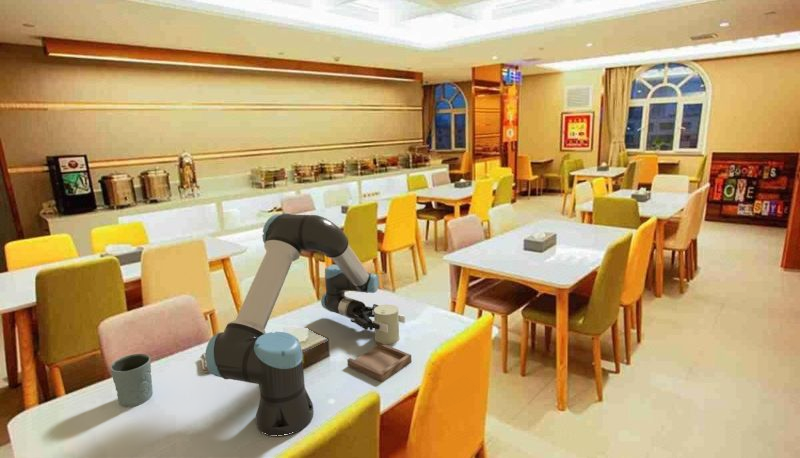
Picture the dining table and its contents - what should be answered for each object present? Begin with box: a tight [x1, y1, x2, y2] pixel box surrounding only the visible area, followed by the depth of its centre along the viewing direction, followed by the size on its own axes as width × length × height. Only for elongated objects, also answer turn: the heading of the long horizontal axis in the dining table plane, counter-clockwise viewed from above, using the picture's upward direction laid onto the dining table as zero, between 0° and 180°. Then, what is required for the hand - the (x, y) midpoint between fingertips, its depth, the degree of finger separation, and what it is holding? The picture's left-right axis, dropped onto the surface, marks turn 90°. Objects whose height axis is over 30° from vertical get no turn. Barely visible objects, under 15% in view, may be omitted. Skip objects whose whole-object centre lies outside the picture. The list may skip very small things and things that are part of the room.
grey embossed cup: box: [109, 353, 154, 408], centre depth 128 cm, size 10×10×12 cm
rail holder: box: [346, 341, 412, 383], centre depth 143 cm, size 15×15×2 cm
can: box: [373, 304, 401, 345], centre depth 160 cm, size 9×9×12 cm
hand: (395, 324), depth 157 cm, fingers closed on can, 9 cm apart
